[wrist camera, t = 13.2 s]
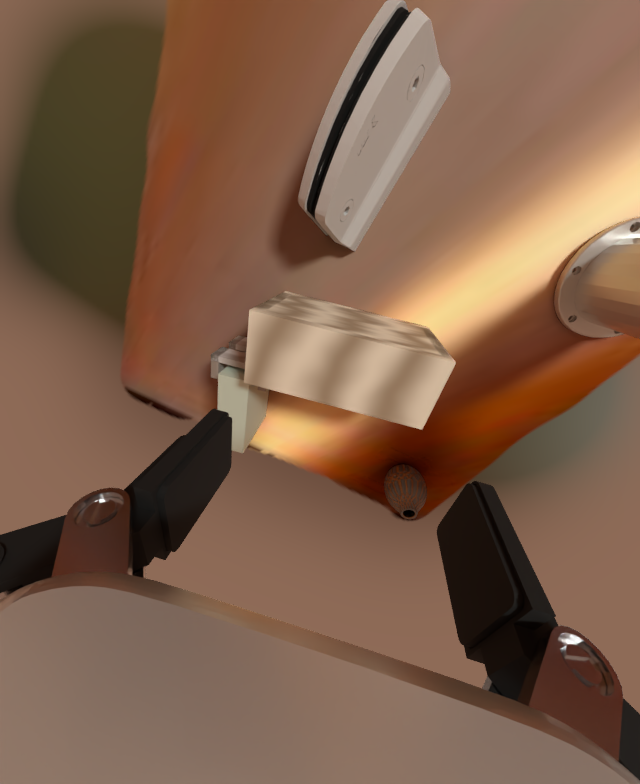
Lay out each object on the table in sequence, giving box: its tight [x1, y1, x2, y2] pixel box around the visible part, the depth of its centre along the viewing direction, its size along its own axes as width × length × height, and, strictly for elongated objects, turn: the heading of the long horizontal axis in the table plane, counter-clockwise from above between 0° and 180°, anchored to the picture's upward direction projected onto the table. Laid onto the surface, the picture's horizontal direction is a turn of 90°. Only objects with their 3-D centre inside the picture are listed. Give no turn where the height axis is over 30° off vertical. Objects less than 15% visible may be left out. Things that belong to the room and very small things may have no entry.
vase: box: [384, 464, 427, 519], centre depth 45 cm, size 7×7×9 cm
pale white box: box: [218, 352, 269, 453], centre depth 40 cm, size 5×12×10 cm, turn 168°
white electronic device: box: [298, 0, 450, 251], centre depth 25 cm, size 17×5×10 cm, turn 148°
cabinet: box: [211, 291, 456, 430], centre depth 33 cm, size 26×11×13 cm, turn 78°
